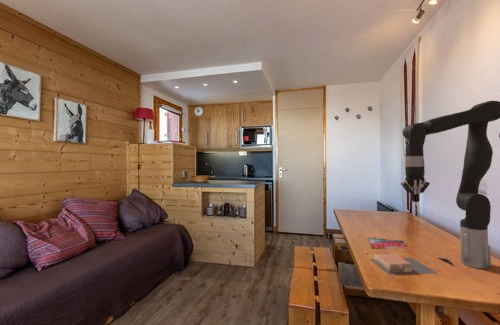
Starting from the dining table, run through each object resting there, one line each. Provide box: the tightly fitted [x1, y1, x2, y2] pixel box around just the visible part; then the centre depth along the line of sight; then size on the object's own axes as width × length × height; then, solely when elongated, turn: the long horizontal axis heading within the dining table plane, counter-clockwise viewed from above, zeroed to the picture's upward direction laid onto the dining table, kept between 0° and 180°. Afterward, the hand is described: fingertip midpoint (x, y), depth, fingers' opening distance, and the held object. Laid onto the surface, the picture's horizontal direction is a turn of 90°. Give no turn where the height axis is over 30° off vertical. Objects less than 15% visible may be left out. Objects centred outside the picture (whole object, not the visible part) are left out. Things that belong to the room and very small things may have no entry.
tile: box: [373, 253, 412, 272], centre depth 107 cm, size 3×12×10 cm
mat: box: [369, 257, 438, 276], centre depth 107 cm, size 21×16×1 cm
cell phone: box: [437, 257, 454, 267], centre depth 113 cm, size 8×15×1 cm, turn 66°
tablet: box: [367, 237, 409, 250], centre depth 134 cm, size 19×25×1 cm
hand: (415, 201), depth 112 cm, fingers closed
